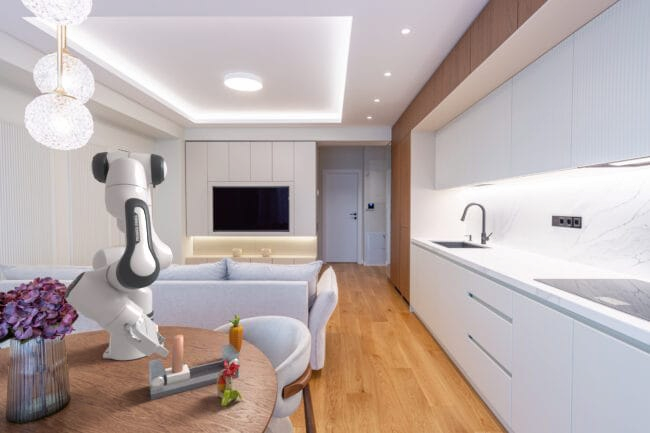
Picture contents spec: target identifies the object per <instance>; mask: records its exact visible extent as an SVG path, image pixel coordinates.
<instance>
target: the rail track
mask: <svg viewBox="0 0 650 433" xmlns="http://www.w3.org/2000/svg"><path fill="white" fill-rule="evenodd" d="M221 347H222V349H221V350H222V352H221V355H222V356H221V359H220V360H218V361H217V360H216V361H212V362H209V363H205V364H200V365H196V366H191V367H188V368H189V371H190V379H189V380H185V381H181V382H177V383H173V384H169V385H166V381H165V368H164V365H163V362H162V358H157V359H156V358H155V359H151V360H149V366H148V367H149V368H148V371H149V372H148V374H149V375H148V378H149V379H148V389H149V395H150V400H151V401H153V400H158V399H161V398H164V397H168V396H172V395H175V394H180V393H183V392H187V391H191V390H195V389H199V388H202V387H205V386H209V385H213V384H217V378H218V374H219V372H220V371H221V370H224V369H226V367H225V366H224V364H223V363H224V361H225V360H226V362H227V364H228V366H230V364H231V363H232V362H235V364H237V365H240V360H239V359H240V352H239V353H238V351H237V350H236V349H235V348H234V346H233V345H232V344H224V345H222V346H221ZM239 368H240V367H239ZM239 368H238V369H237V370H236V371H235V374H236V376H232V380H233V379H236V378H239V372H240V371H239Z"/></svg>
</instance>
